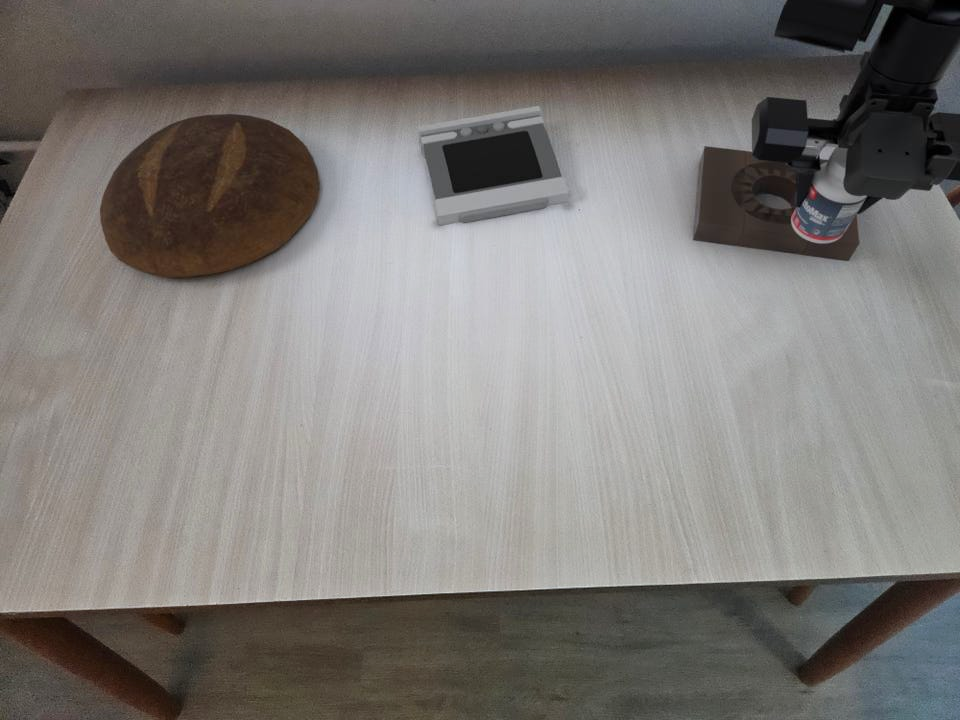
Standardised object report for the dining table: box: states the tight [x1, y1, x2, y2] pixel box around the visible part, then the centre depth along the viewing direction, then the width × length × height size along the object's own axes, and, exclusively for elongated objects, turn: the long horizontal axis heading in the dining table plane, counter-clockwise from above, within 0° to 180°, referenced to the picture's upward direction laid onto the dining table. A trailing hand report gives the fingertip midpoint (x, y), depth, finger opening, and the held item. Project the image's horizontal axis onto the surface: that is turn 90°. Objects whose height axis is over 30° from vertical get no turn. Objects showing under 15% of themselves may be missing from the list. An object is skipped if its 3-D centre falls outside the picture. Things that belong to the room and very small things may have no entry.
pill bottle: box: [791, 147, 867, 244], centre depth 62 cm, size 5×5×9 cm
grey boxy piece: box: [417, 105, 571, 226], centre depth 86 cm, size 17×5×16 cm
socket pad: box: [692, 145, 860, 262], centre depth 80 cm, size 18×14×3 cm
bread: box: [99, 113, 321, 278], centre depth 83 cm, size 28×27×9 cm
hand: (826, 207), depth 64 cm, fingers closed on pill bottle, 5 cm apart
